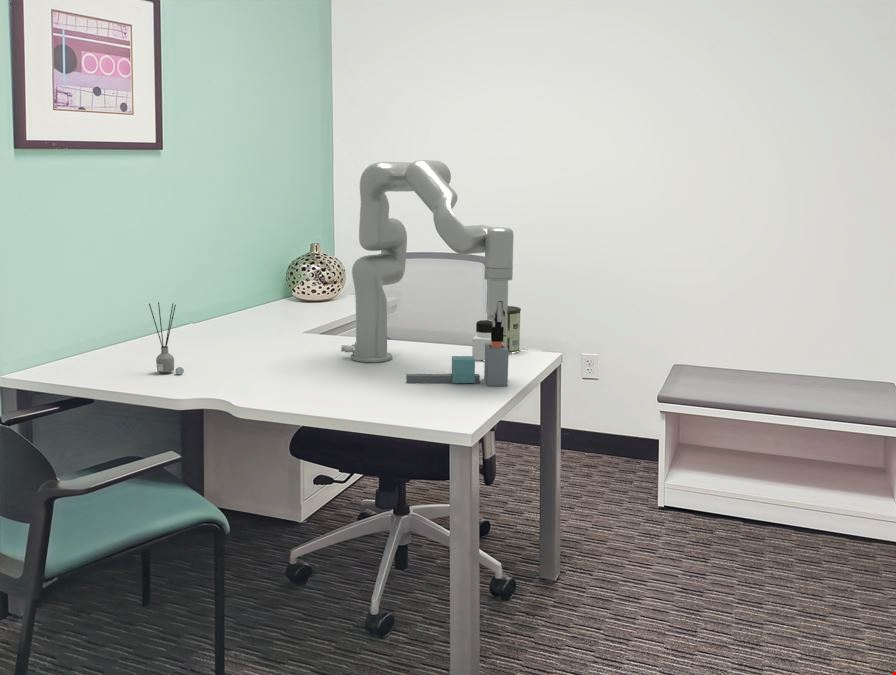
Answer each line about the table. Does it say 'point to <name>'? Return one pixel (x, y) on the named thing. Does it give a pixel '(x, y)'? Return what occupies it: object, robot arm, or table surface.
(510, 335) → the coffee can
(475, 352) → the medicine bottle
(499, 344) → the plunger
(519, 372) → the table surface
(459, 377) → the block
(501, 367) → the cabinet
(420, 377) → the rail
